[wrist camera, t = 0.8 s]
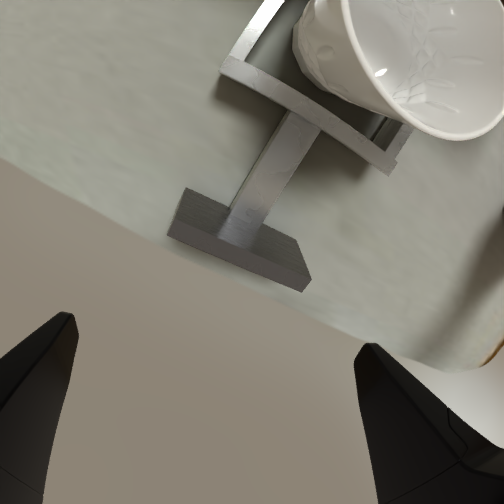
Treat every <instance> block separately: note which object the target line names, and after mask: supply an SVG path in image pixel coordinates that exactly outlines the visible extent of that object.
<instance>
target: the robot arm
mask: <svg viewBox="0 0 504 504" xmlns="http://www.w3.org/2000/svg"><path fill="white" fill-rule="evenodd" d="M78 339H79V333H78V329H77V325H76V321H75V317H74V315H73V314H72V313H67V312H59V313H58V314H56V315H55V316H54V317H52V318H51V319H50V320H49V321H47V322H46V323H45V324H43V325H42V326H41V327H39V328H38V329H37V330H36V331H34V332H33V333H32V334H30V335H29V336H28V337H27V338H25V339H24V340H23V341H21V342H20V343H19V344H18V345H17V346H15V347H14V348H13V349H11V350H10V351H9V352H8V353H7V354H5V355H4V356H3V357H2V358H0V504H42V502H43V494H44V488H45V481H46V475H47V469H48V465H49V459H50V455H51V450H52V446H53V441H54V437H55V433H56V429H57V425H58V421H59V417H60V413H61V410H62V406H63V402H64V399H65V396H66V392H67V389H68V385H69V381H70V376H71V371H72V366H73V362H74V357H75V352H76V348H77V344H78ZM354 371H355V378H356V385H357V393H358V401H359V407H360V412H361V417H362V421H363V426H364V430H365V434H366V439H367V444H368V449H369V454H370V459H371V464H372V470H373V475H374V480H375V486H376V492H377V499H378V504H504V449H503V448H500V447H498V446H496V445H494V444H493V443H491V442H490V441H489V440H487V439H486V438H485V437H483V436H482V435H481V434H480V433H478V432H477V431H476V430H474V429H473V428H472V427H470V426H469V425H468V424H467V423H466V422H464V421H463V420H462V419H461V418H460V417H459V416H457V415H456V414H455V413H454V412H453V411H452V410H451V409H450V408H447V406H446V405H445V404H444V403H443V402H442V401H441V400H440V399H439V398H438V397H436V396H435V395H434V394H433V393H432V392H431V391H430V390H429V389H428V388H426V387H425V386H424V385H423V384H422V383H421V382H420V381H419V380H418V379H416V378H415V377H414V376H413V375H412V374H411V373H410V372H409V371H408V370H406V369H405V368H404V367H403V366H402V365H401V364H400V363H399V362H397V361H396V360H395V359H394V358H393V357H392V356H391V355H390V354H389V353H387V352H386V351H385V350H384V349H383V348H382V347H381V346H379V345H378V344H377V343H366V344H364V345H363V347H362V348H361V350H360V351H359V353H358V355H357V356H356V358H355V360H354Z"/></svg>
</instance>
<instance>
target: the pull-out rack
mask: <svg viewBox="0 0 504 504" xmlns="http://www.w3.org/2000/svg"><path fill="white" fill-rule="evenodd" d="M283 2H284V0H265V1H264V2H263V4H262V5H261V7H260V8H259V9H258V11H257V12H256V14H255V15H254V17H253V18H252V20H251V21H250V23H249V24H248V26H247V27H246V28H245V30H244V32H243V33H242V35H241V36H240V38H239V39H238V41H237V42H236V44H235V45H234V47H233V49H232V50H231V52H230V53H229V54H228V56H227V57H226V59H225V61H224V62H223V64H222V65H221V67H220V69H219V71H218V72H219V73H220V74H222V75H224V76H226V77H228V78H230V79H232V80H234V81H236V82H238V83H240V84H242V85H244V86H246V87H248V88H250V89H252V90H254V91H256V92H258V93H259V94H261V95H263V96H265V97H267V98H269V99H270V100H272V101H274V102H276V103H277V104H279V105H281V106H283V107H284V108H286V109H288V110H287V112H286V114H285V115H284V117H283V118H282V120H281V122H280V123H279V125H278V127H277V128H276V130H275V132H274V133H273V135H272V136H271V138H270V140H269V141H268V143H267V145H266V146H265V148H264V150H263V151H262V153H261V155H260V156H259V158H258V160H257V161H256V163H255V165H254V167H253V168H252V170H251V172H250V173H249V175H248V177H247V178H246V180H245V182H244V184H243V185H242V187H241V189H240V190H239V192H238V194H237V196H236V197H235V199H234V201H233V203H232V204H231V206H230V208H229V207H227V206H225V205H223V204H221V203H219V202H217V201H214V200H212V199H210V198H208V197H206V196H204V195H202V194H199V193H197V192H195V191H193V190H191V189H189V188H185V190H184V192H183V194H182V197H181V199H180V201H179V203H178V206H177V209H176V211H175V214H174V217H173V219H172V222H171V225H170V228H169V230H168V233H167V236H170V237H172V238H174V239H176V240H179V241H181V242H183V243H186V244H188V245H190V246H193V247H195V248H197V249H200V250H202V251H204V252H207V253H209V254H211V255H214V256H216V257H218V258H221V259H223V260H225V261H228V262H230V263H232V264H235V265H237V266H239V267H242V268H244V269H246V270H249V271H251V272H254V273H256V274H258V275H261V276H263V277H265V278H268V279H270V280H273V281H275V282H277V283H280V284H282V285H285V286H287V287H290V288H292V289H294V290H297V291H299V292H303V290H304V289H305V288H306V286H307V285H308V284H309V283H310V281H311V280H312V279H311V276H310V274H309V271H308V268H307V266H306V263H305V261H304V258H303V256H302V253H301V251H300V248H299V246H298V243H297V241H296V240H295V239H293V238H291V237H289V236H287V235H285V234H283V233H281V232H279V231H277V230H275V229H273V228H271V227H269V226H267V225H265V224H263V223H262V222H263V221H264V219H265V218H266V216H267V215H268V213H269V211H270V210H271V208H272V207H273V205H274V203H275V202H276V200H277V199H278V197H279V196H280V194H281V192H282V191H283V189H284V188H285V186H286V184H287V183H288V181H289V180H290V178H291V177H292V175H293V173H294V172H295V170H296V169H297V167H298V166H299V164H300V162H301V161H302V159H303V158H304V156H305V155H306V153H307V151H308V150H309V148H310V147H311V145H312V144H313V142H314V140H315V139H316V137H317V136H318V134H319V133H320V131H321V130H322V131H324V132H325V133H327V134H328V135H330V136H331V137H333V138H334V139H336V140H337V141H339V142H340V143H342V144H343V145H345V146H346V147H347V148H349V149H350V150H352V151H353V152H355V153H356V154H357V155H359V156H360V157H362V158H363V159H364V160H366V161H367V162H368V163H370V164H371V165H373V166H374V167H376V168H377V169H379V170H380V171H382V172H383V173H385V174H386V175H387V176H389V175H390V173H391V172H392V170H393V169H394V167H395V166H396V164H397V163H398V162H396V161H395V160H394V159H395V157H396V156H397V154H398V153H399V151H400V150H401V148H402V147H403V145H404V144H405V142H406V141H407V139H408V137H409V136H410V134H411V133H412V131H413V129H414V128H413V127H411V126H409V125H406V124H404V123H401V122H399V121H396V120H394V119H391V118H389V117H388V118H387V120H386V122H385V123H384V125H383V126H382V128H381V129H380V131H379V132H378V134H377V136H376V137H375V139H374V140H373V142H371V141H370V140H369V139H367V138H366V137H365V136H363V135H362V134H361V133H359V132H358V131H357V130H355V129H354V128H353V127H351V126H350V125H348V124H347V123H345V122H344V121H343V120H341V119H340V118H338V117H337V116H335V115H334V114H332V113H331V112H329V111H328V110H326V109H325V108H323V107H322V106H320V105H319V104H317V103H316V102H314V101H313V100H311V99H309V98H308V97H306V96H305V95H303V94H301V93H300V92H298V91H296V90H295V89H293V88H291V87H290V86H288V85H286V84H285V83H283V82H281V81H279V80H278V79H276V78H274V77H272V76H270V75H269V74H267V73H265V72H263V71H261V70H259V69H257V68H255V67H254V66H252V65H250V64H248V63H246V62H244V60H245V58H246V56H247V55H248V53H249V52H250V50H251V49H252V47H253V46H254V44H255V42H256V41H257V39H258V38H259V36H260V35H261V33H262V32H263V30H264V29H265V27H266V26H267V24H268V23H269V22H270V20H271V19H272V17H273V16H274V14H275V13H276V11H277V10H278V9H279V7H280V6H281V4H282V3H283Z"/></svg>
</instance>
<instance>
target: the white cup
mask: <svg viewBox="0 0 504 504" xmlns="http://www.w3.org/2000/svg"><path fill="white" fill-rule="evenodd" d="M292 51H293V53H294V56H295V58H296V60H297V62H298V65H299V67H300V69H301V72H302V73H303V74H304V75H305V76H306V77H307V78H308V79H309V80H310V81H312V82H313V83H314V84H315V85H316V86H317V87H318V88H319V89H320V90H322V91H325V92H327V93H330V94H333V95H335V96H338V97H340V98H341V99H343V100H345V101H347V102H350V103H353V104H355V105H357V106H360V107H363V108H365V109H368V110H370V111H372V112H375V113H378V114H381V115H383V116H386V117H389V118H391V119H394V120H396V121H399V122H401V123H404V124H406V125H409V126H411V127H413V128H416V129H418V130H420V131H422V132H425V133H427V134H429V135H431V136H434V137H437V138H440V139H444V140H450V141H465V140H471V139H474V138H477V137H480V136H482V135H484V134H485V133H487V132H488V131H490V130H491V129H492V128H494V127H495V126H496V125H497V124H498V123H499V122H500V120H501V119H502V118H503V116H504V7H503V5H502V3H501V1H500V0H310V1H309V2H308V3H307V5H306V6H305V8H304V11H303V13H302V15H301V16H300V18H299V19H298V21H297V22H296V24H295V25H294V27H293V42H292Z"/></svg>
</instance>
